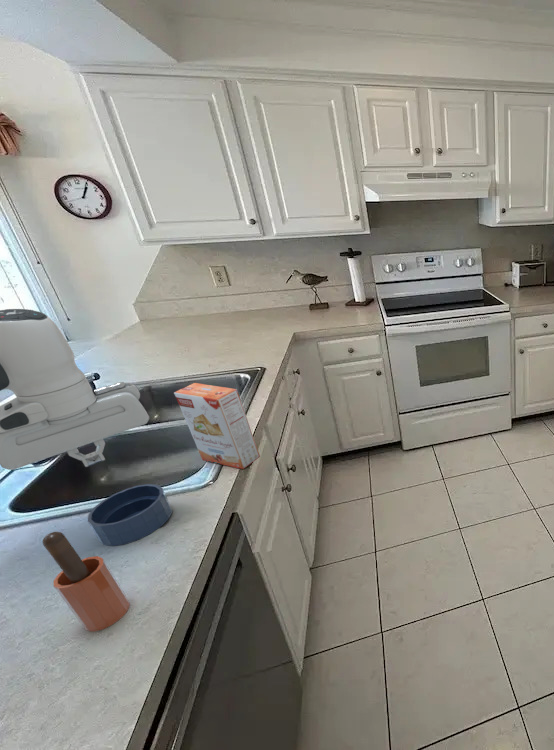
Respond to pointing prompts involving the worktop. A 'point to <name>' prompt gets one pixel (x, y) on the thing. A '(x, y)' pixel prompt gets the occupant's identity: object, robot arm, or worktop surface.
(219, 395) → the cracker box
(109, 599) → the crock
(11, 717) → the worktop surface
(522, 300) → the worktop surface
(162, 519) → the bowl
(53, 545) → the stick
